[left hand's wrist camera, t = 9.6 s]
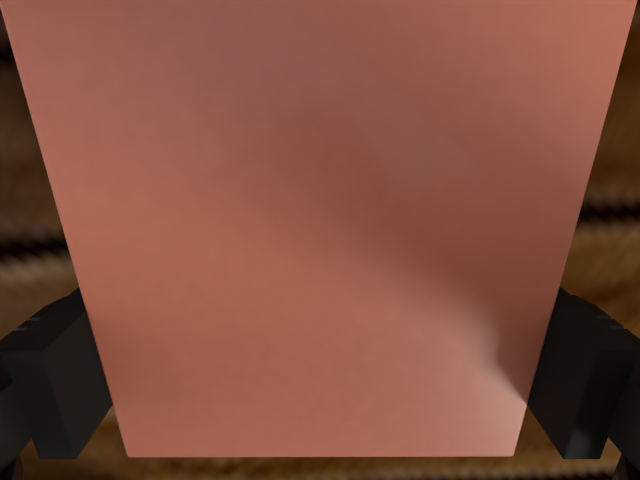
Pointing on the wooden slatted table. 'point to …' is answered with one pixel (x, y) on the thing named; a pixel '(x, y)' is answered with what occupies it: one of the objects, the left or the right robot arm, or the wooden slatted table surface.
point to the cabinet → (318, 209)
